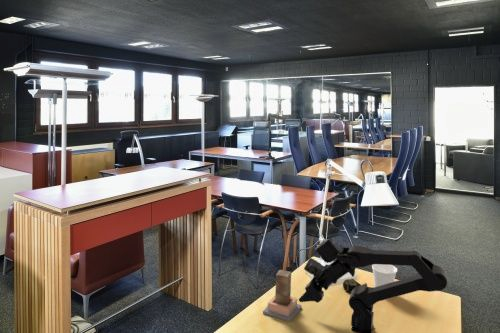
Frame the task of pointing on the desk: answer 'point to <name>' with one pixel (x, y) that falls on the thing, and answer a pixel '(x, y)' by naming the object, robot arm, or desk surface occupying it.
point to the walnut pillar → (283, 287)
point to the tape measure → (350, 284)
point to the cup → (383, 274)
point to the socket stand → (282, 309)
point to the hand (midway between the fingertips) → (302, 294)
